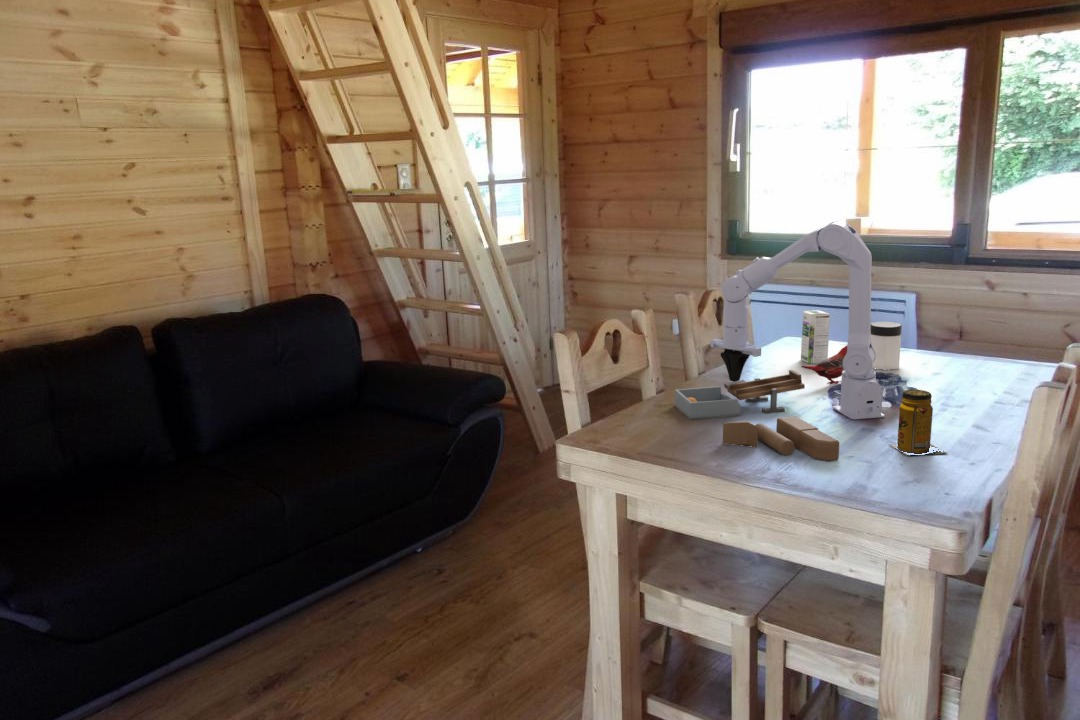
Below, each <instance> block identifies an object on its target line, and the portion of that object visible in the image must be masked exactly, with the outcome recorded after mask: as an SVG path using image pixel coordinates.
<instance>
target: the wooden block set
mask: <svg viewBox="0 0 1080 720" xmlns="http://www.w3.org/2000/svg"><path fill="white" fill-rule="evenodd" d="M775 430H776V431H775ZM775 430H774V429H772V428H770V427H768V425H765V424H763V423H756V424H753V423H752V422H750V421H748V420H741V421H740V420H739V421H731V422H723V423H722V444H724V443H727V444H726V445H731V444H735V445H734V446H739V445H743V446H742V447H747V446H752V447H751V448H758V440H759V441H760V442H762V443H764V444H766V445H767V446H769V447H770V448H772V449H773V450H775V451H777V452H778V453H779V454H780V455H784V456H789V455H791V454H792V453H793V452H794V450H797V451H800V452H803V453H805V454H806V455H808V456H810V457H811V458H812V459H814V460H817V459H818V460H819V461H824V460H825V462H834V461H835V460H836V461H838V460H839V458H840V441H839V440H838V439H836V438H835V437H832V436H830V435H828V434H826V433H825V432H823V431H821V430H819V428H818V427H816V426H814V425H812V424H811V423H809V422H807V421H804V420H803V419H802V418H800V417H798V416H795V415H793V416H792V415H791V416H783V417H778V418H776V429H775ZM836 461H835V462H836Z"/></svg>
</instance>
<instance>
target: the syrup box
mask: <svg viewBox="0 0 1080 720" xmlns="http://www.w3.org/2000/svg"><path fill="white" fill-rule="evenodd" d="M830 321H831V313H828V312H825V311H822V310H817V309H813V310H811V309H810V310H804V311H803V312H802V328H801V346H800V347H801V348H800V361H803V362H805V363H807V364H809V365H815V364H816V365H817V364H819V363H821V362H822V361H824V360H826V359H828V358H829V357H828V356H829V353H828V352H829V342H830V341H829V340H830V338H829V337H830Z"/></svg>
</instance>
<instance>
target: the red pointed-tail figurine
mask: <svg viewBox="0 0 1080 720" xmlns="http://www.w3.org/2000/svg"><path fill="white" fill-rule="evenodd" d="M846 353H847V345H845V346H844V347H841V349H840V350H839V351H838V353H836V354H835V355H833V356H830V357H828V359H826V360H824V361H822V362H821V363H817V364H816V365H800V368H804V369H807V370H810V371H813V372H815V373H816V374H817V375H818V376H820V377H824V378H825V379H827V380H828V382H827V383H826V385H828V384H829V385H834V384H835V385H837V384H839V383H842V380H840V381H838V380H833V379H837V378H839V377H842V371H843V370H844V368H843V359H844V357H845V355H846Z"/></svg>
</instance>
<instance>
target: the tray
mask: <svg viewBox="0 0 1080 720" xmlns="http://www.w3.org/2000/svg"><path fill="white" fill-rule="evenodd" d="M690 397H692V398H695V399H696V400H697V402H691V401H690V400H689V399H688V398H690ZM674 406H675V407H676V408H677V409H678V410H679V411H680V412H681V411H682V412H683V413H684V414H683V413H682V414H683V415H685V416H686V417H687V418H688V419H689V420H691V421H693V420H692V419H696V420H705V419H706V418H708V419H719V417H721V418H729V417H730V416H733V417H740V416H741V404H739V399H737V398H732V397H730V396H728V395H727V394H725V392H723V391H722V388H721V386H720V385H719V386H706V387H705V386H704V387H694V388H693V387H690V388H680V389H674ZM730 418H731V417H730Z"/></svg>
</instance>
